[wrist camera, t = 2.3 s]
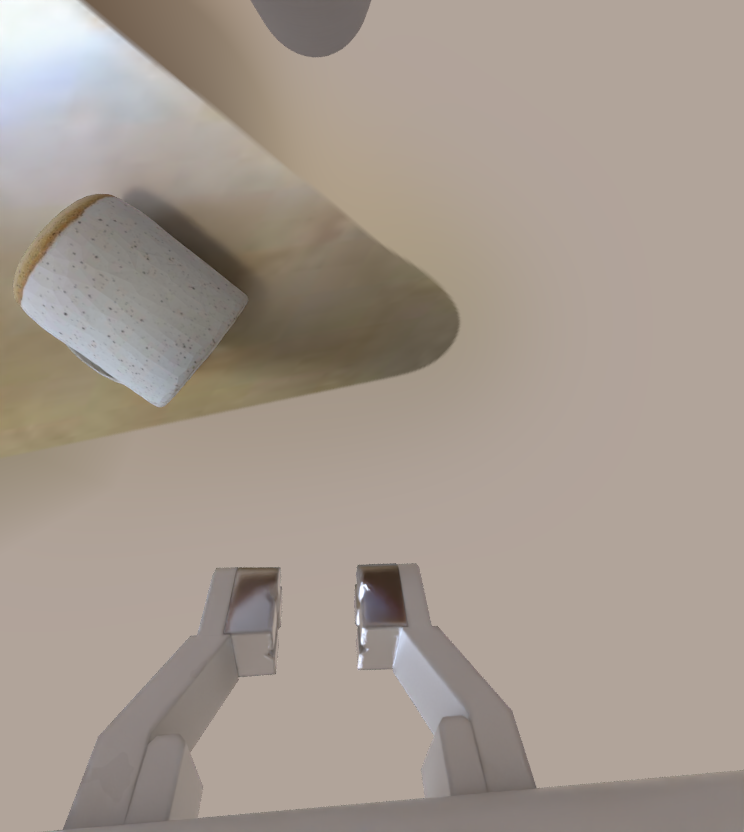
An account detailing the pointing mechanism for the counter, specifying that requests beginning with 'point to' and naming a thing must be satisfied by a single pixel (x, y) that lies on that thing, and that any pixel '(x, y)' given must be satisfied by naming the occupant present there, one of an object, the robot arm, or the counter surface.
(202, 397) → the counter surface
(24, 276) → the ceramic mug
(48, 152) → the counter surface
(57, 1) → the counter surface
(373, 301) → the counter surface
